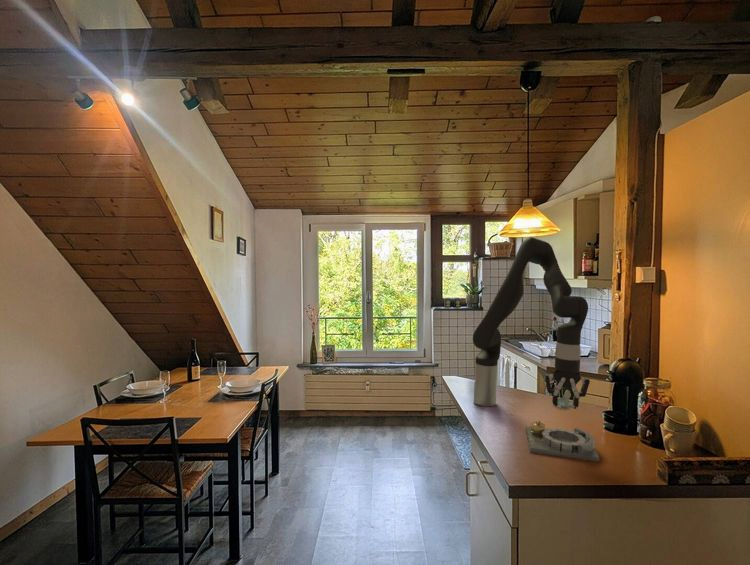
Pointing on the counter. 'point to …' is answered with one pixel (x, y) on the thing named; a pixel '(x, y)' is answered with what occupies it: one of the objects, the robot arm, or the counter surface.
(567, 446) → the grey ring holder
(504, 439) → the counter surface
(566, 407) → the pacifier
